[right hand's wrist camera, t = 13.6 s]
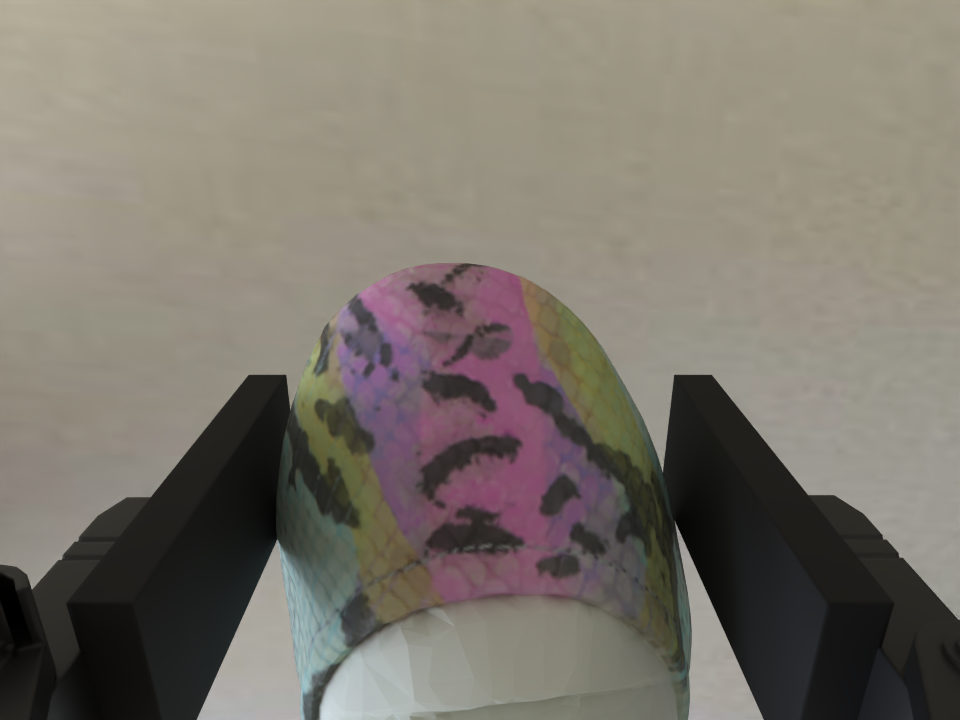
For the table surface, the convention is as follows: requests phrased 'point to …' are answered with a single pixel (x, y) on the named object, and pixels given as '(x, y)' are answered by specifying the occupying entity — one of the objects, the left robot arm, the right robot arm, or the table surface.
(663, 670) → the ballet flat
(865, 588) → the right robot arm
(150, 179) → the table surface
